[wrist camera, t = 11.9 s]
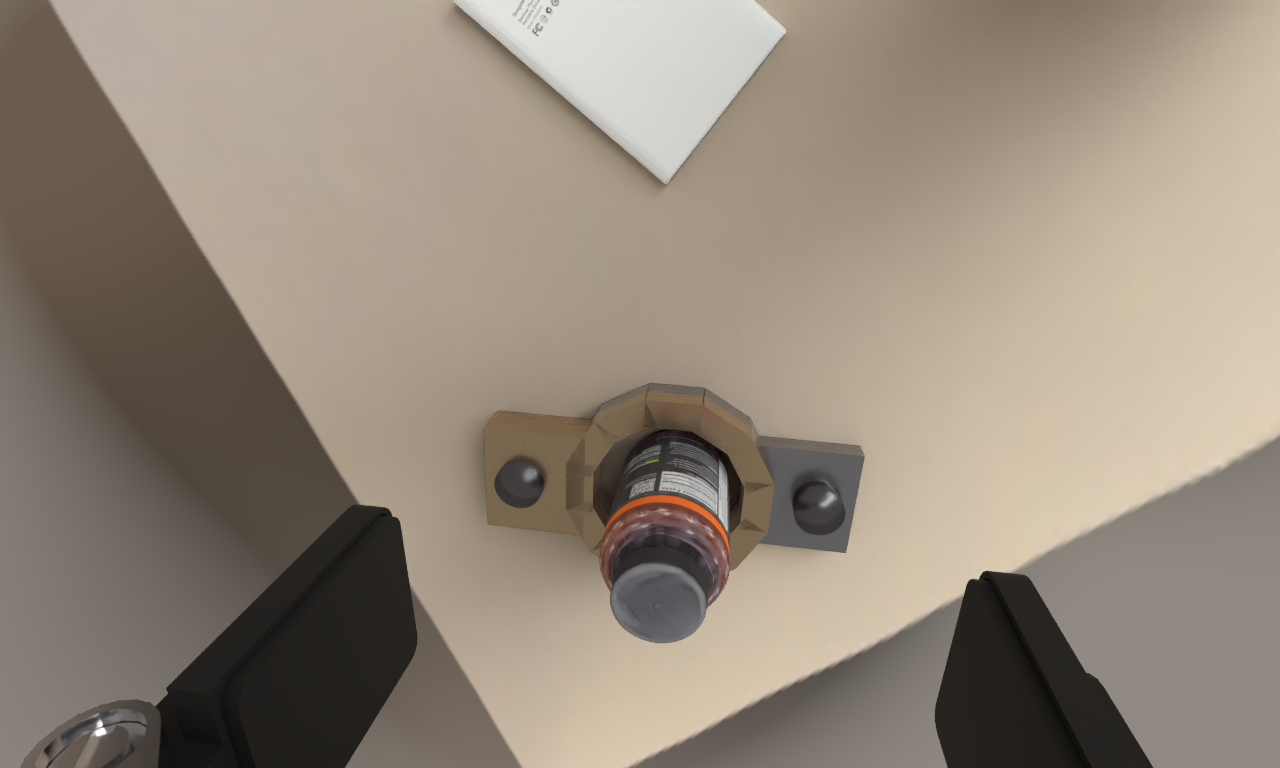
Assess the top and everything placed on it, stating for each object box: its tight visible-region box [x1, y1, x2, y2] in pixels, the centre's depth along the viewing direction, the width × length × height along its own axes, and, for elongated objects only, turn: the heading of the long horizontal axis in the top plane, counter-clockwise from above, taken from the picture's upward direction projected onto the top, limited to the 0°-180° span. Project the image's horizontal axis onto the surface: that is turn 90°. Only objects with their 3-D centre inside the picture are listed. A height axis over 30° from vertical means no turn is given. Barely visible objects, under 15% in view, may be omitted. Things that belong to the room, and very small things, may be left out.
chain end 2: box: [587, 383, 865, 553], centre depth 36 cm, size 16×11×2 cm
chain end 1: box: [483, 391, 775, 571], centre depth 36 cm, size 16×11×3 cm
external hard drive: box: [453, 0, 786, 184], centre depth 29 cm, size 2×8×12 cm
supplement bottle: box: [599, 430, 731, 643], centre depth 32 cm, size 6×6×11 cm
